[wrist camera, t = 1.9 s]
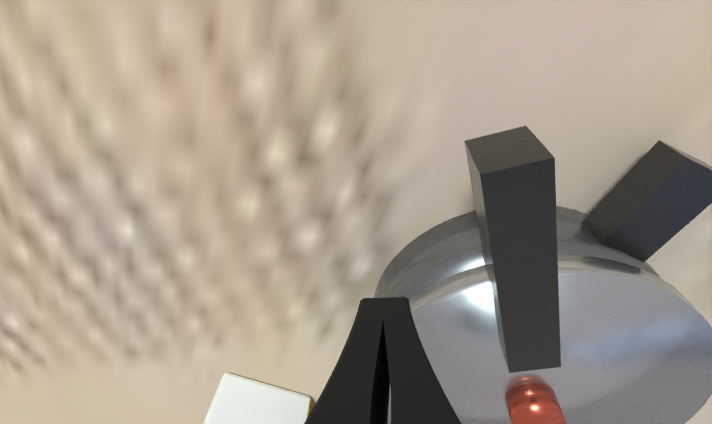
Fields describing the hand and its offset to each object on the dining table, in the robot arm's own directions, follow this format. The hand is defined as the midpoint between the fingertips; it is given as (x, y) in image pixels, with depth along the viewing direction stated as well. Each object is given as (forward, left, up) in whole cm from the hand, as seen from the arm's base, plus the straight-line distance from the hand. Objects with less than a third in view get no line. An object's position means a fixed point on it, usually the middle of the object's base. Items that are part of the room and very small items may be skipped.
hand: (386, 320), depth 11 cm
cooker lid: (-9, +3, -5) cm, 10 cm away
